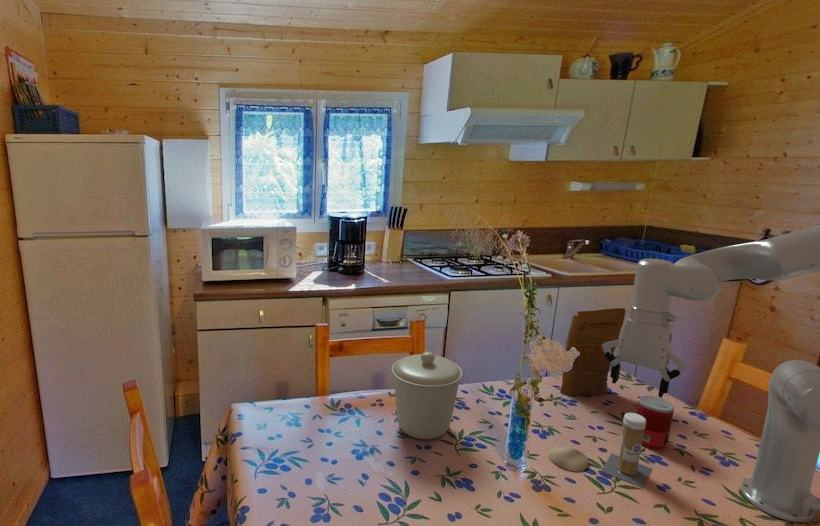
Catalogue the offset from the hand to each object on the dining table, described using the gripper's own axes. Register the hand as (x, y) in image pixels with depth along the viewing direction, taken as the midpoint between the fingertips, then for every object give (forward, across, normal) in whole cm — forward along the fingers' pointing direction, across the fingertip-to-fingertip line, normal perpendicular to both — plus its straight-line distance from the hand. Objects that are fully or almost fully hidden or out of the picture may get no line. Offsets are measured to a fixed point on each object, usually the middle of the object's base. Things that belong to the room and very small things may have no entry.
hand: (637, 388), depth 106 cm
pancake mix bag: (+20, +19, -32) cm, 43 cm away
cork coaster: (+20, +12, +6) cm, 24 cm away
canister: (+20, +45, +18) cm, 53 cm away
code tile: (+20, 0, 0) cm, 20 cm away
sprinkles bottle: (+20, 0, 0) cm, 20 cm away
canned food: (+21, -2, -17) cm, 27 cm away
